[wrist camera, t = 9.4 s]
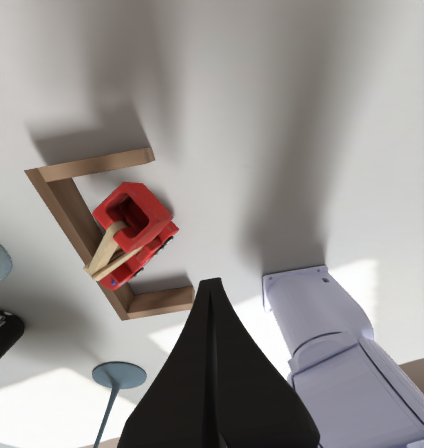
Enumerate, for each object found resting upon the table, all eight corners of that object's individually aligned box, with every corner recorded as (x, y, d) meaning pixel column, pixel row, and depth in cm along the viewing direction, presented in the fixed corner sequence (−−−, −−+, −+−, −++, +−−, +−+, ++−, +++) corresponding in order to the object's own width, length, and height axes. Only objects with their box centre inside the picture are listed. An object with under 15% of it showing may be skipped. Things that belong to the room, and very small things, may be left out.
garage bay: (151, 147, 17) (141, 148, 14) (194, 291, 26) (193, 308, 23) (52, 165, 17) (23, 170, 14) (130, 302, 26) (121, 320, 23)
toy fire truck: (117, 260, 22) (22, 308, 13) (183, 186, 18) (115, 178, 9) (134, 279, 22) (50, 340, 13) (204, 208, 18) (156, 222, 9)
